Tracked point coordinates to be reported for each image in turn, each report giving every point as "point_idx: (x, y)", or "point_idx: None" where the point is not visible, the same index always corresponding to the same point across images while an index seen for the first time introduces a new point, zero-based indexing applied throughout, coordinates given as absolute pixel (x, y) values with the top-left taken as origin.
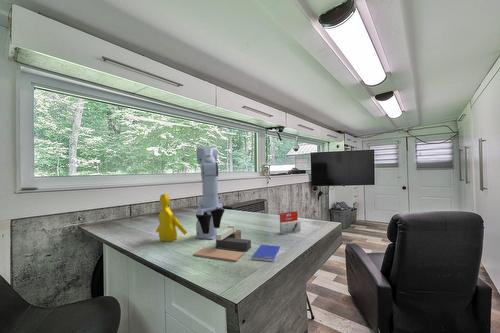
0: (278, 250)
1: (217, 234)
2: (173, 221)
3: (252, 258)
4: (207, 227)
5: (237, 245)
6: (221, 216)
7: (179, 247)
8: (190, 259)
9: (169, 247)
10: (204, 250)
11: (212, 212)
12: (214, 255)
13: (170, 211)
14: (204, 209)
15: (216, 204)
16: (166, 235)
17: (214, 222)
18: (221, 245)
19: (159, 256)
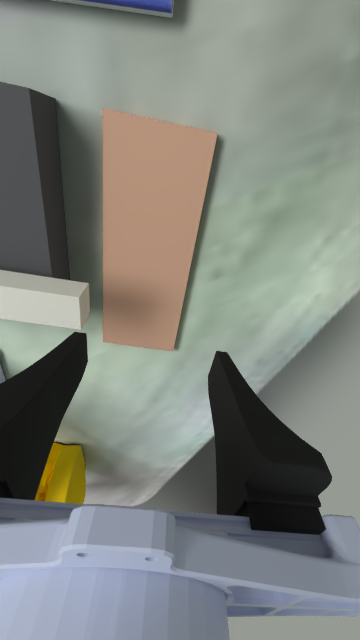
0: None
1: (73, 321)
2: None
3: (173, 4)
4: (246, 383)
5: (49, 179)
6: (17, 384)
7: (115, 409)
8: (206, 342)
9: (124, 429)
10: (131, 328)
11: (34, 480)
12: (175, 270)
13: None
14: (346, 590)
15: (134, 630)
16: (81, 472)
17: (72, 387)
18: (64, 278)
19: (192, 422)
